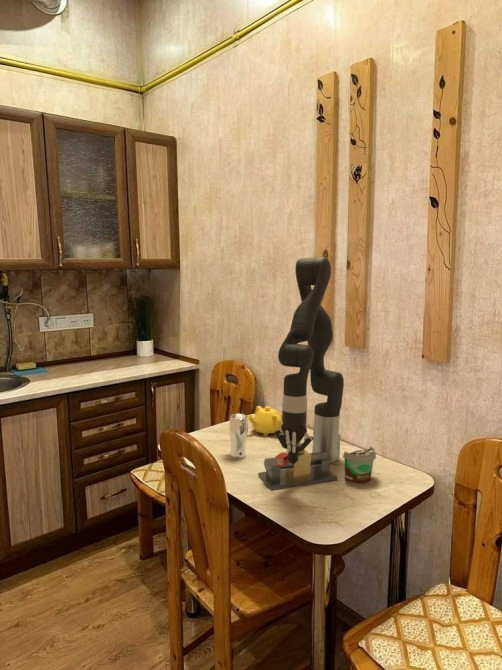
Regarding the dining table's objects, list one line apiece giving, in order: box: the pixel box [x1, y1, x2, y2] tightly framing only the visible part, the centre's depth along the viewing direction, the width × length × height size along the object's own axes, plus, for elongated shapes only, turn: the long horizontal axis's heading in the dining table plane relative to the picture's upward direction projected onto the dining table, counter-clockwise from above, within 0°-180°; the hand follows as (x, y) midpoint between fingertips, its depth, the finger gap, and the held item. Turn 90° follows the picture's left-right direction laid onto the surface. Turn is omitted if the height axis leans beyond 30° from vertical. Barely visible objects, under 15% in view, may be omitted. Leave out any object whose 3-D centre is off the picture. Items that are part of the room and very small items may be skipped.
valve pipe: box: [257, 449, 338, 491], centre depth 156 cm, size 24×11×9 cm, turn 110°
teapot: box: [247, 405, 282, 437], centre depth 199 cm, size 20×18×11 cm
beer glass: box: [228, 413, 249, 459], centre depth 173 cm, size 7×7×15 cm
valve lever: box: [275, 442, 305, 466], centre depth 150 cm, size 15×4×3 cm, turn 147°
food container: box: [342, 446, 377, 484], centre depth 155 cm, size 12×6×10 cm, turn 117°
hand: (292, 462), depth 145 cm, fingers closed
